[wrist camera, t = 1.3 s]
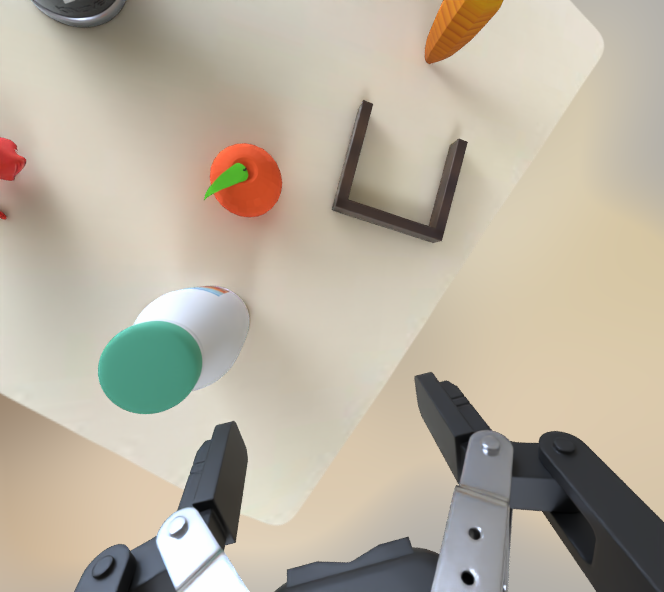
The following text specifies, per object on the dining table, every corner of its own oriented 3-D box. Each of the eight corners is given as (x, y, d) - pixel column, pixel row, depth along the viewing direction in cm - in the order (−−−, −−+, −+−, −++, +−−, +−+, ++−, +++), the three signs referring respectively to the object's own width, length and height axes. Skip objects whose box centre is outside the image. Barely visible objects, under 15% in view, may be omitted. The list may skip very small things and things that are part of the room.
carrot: (407, 79, 38) (494, -47, 24) (409, 36, 38) (498, -118, 23) (445, 85, 39) (551, -32, 25) (447, 43, 39) (555, -100, 24)
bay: (433, 243, 40) (442, 241, 38) (331, 210, 37) (335, 206, 35) (458, 148, 40) (467, 141, 38) (358, 109, 37) (363, 99, 35)
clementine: (229, 239, 35) (220, 228, 28) (194, 182, 34) (175, 156, 27) (292, 204, 36) (298, 185, 29) (259, 147, 35) (257, 115, 28)
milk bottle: (259, 297, 36) (249, 317, 16) (238, 363, 36) (202, 462, 16) (189, 276, 34) (86, 270, 15) (166, 344, 34) (33, 429, 15)
